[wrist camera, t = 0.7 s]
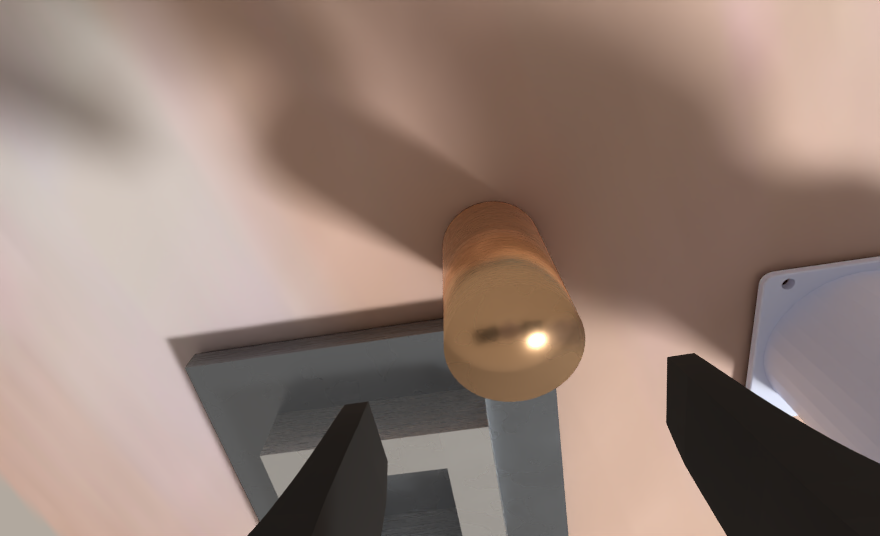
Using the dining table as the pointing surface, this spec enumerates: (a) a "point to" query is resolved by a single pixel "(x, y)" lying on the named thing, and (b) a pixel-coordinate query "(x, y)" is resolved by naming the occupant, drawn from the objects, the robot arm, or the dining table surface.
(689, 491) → the dining table surface
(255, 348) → the flange socket
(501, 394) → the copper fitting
